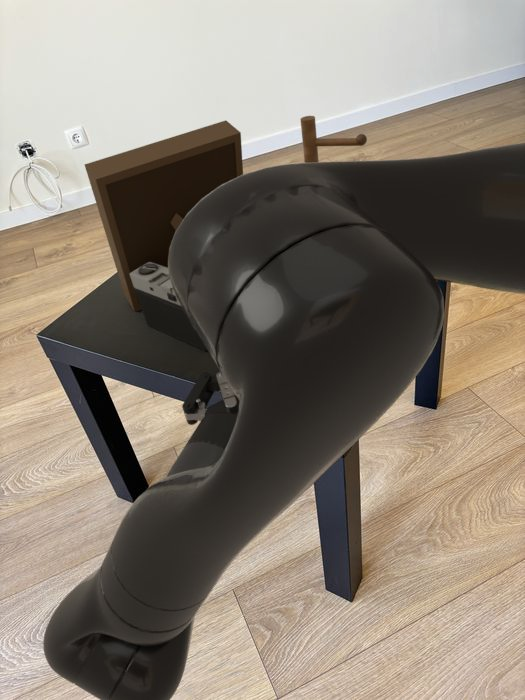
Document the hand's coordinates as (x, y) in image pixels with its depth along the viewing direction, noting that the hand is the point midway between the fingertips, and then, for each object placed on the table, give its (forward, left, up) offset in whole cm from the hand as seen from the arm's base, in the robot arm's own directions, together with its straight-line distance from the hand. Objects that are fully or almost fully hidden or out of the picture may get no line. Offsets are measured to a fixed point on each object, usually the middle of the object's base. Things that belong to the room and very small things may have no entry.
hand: (275, 363), depth 62 cm
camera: (+16, -17, -7) cm, 24 cm away
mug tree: (-3, -45, -6) cm, 45 cm away
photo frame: (+17, -25, -7) cm, 31 cm away
